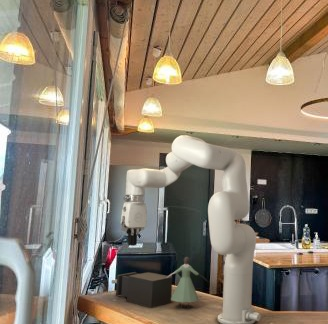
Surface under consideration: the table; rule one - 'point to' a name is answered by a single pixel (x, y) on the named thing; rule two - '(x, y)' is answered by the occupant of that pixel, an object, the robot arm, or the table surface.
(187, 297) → the character figurine
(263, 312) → the table surface
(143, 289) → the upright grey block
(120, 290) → the drawer
